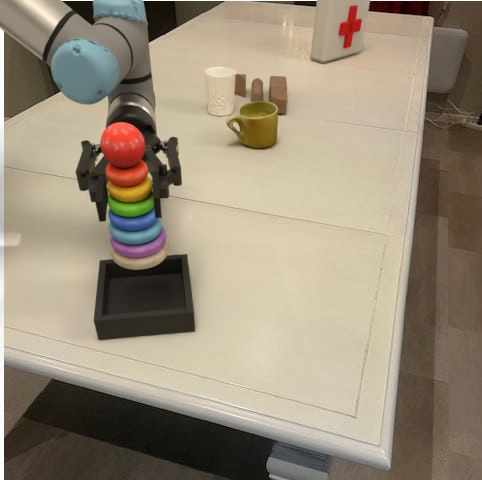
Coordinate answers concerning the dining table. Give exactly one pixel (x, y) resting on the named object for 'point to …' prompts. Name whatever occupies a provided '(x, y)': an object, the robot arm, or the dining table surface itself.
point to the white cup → (220, 90)
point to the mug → (256, 124)
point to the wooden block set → (275, 90)
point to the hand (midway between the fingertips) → (129, 209)
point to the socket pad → (144, 299)
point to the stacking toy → (131, 201)
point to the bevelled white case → (338, 29)
